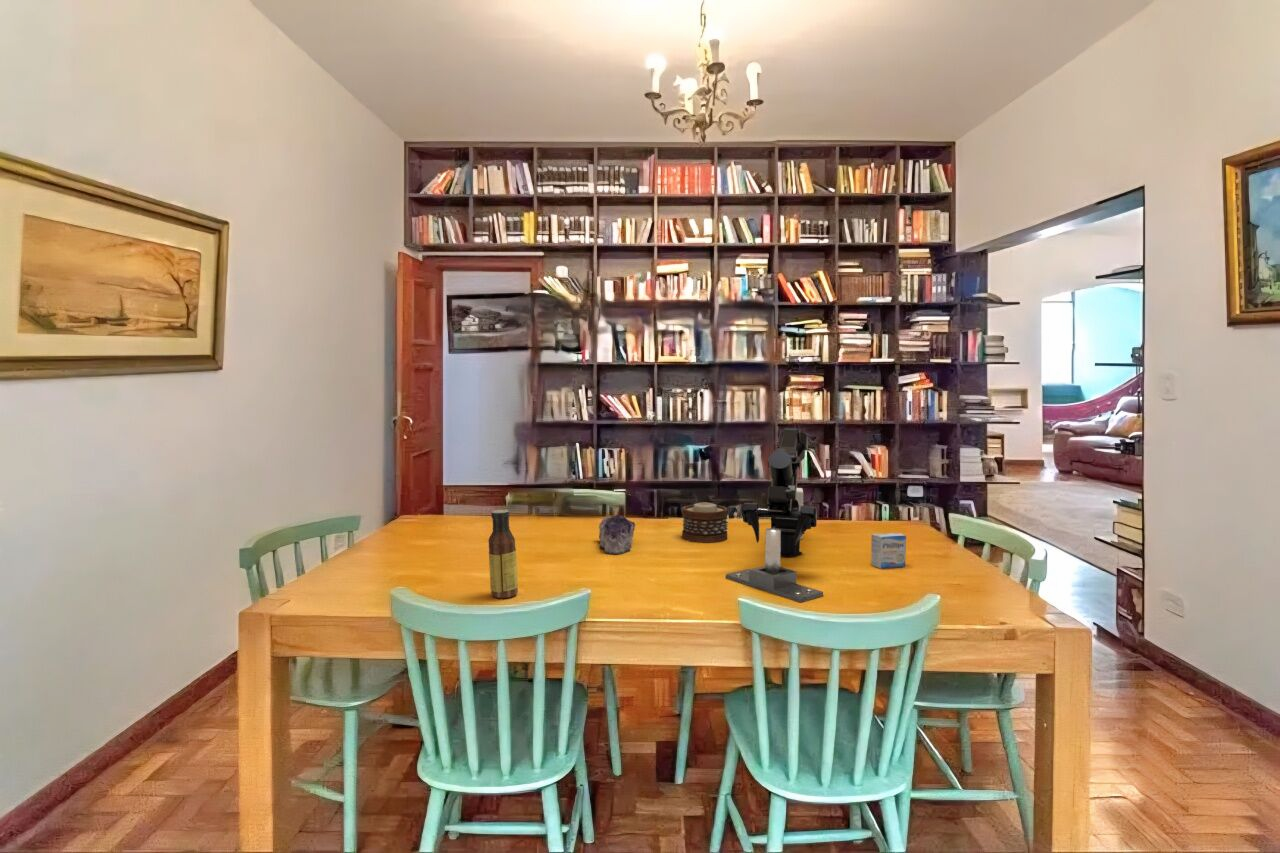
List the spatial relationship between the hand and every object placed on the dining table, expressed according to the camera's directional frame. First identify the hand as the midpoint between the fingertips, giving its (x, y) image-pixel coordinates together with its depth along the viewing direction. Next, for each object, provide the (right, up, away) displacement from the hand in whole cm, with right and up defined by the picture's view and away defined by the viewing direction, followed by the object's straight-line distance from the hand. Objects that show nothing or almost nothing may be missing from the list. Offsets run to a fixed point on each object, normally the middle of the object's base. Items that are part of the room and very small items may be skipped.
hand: (775, 543), depth 176 cm
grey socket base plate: (-2, -10, -5) cm, 11 cm away
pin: (-2, -10, -5) cm, 11 cm away
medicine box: (+33, -9, +14) cm, 37 cm away
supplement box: (+13, -6, +49) cm, 51 cm away
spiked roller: (-13, -6, +46) cm, 49 cm away
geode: (-41, -7, +35) cm, 54 cm away
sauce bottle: (-66, -10, -12) cm, 67 cm away
